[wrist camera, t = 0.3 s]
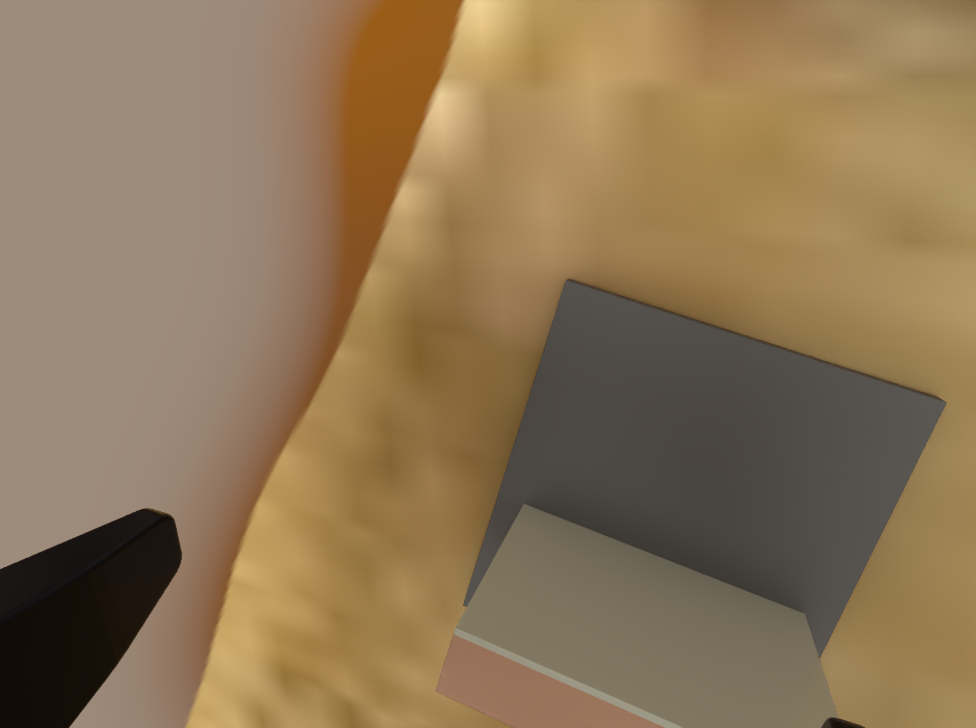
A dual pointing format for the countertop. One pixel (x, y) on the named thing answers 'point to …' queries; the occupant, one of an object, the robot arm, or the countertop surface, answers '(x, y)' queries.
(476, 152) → the countertop surface
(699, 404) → the mat
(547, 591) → the tile
